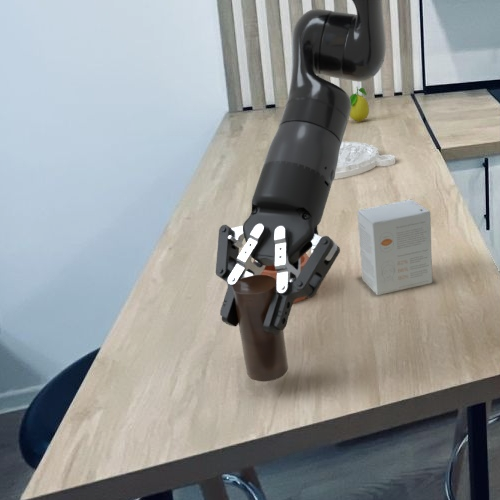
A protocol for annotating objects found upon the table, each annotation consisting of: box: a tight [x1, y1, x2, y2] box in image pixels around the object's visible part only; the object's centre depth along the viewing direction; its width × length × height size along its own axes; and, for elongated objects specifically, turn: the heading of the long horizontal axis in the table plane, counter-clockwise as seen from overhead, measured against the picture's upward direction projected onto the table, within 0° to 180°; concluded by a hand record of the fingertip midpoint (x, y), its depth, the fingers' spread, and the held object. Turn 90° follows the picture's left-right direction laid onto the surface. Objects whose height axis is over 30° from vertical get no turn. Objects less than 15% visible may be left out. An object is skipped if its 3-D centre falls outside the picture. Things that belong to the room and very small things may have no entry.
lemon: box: [349, 86, 370, 123], centre depth 179 cm, size 7×6×10 cm
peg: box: [233, 275, 289, 383], centre depth 67 cm, size 4×4×10 cm
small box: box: [357, 198, 433, 296], centre depth 87 cm, size 8×6×10 cm
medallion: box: [334, 140, 396, 180], centre depth 145 cm, size 24×27×2 cm
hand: (249, 327), depth 65 cm, fingers closed on peg, 4 cm apart
